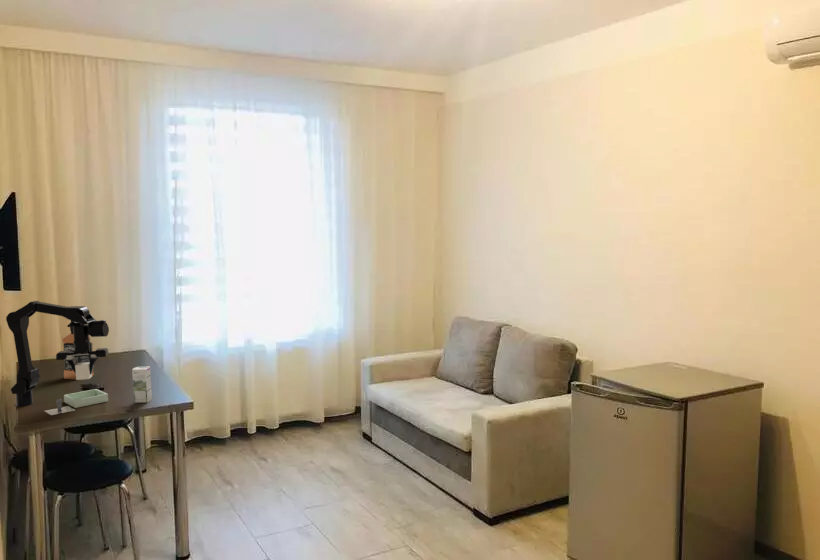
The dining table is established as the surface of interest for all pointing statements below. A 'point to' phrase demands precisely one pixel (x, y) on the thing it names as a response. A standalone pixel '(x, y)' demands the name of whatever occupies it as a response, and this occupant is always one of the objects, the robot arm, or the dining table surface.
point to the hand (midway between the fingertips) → (84, 374)
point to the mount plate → (55, 411)
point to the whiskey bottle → (69, 346)
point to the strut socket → (83, 371)
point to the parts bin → (85, 398)
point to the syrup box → (142, 384)
